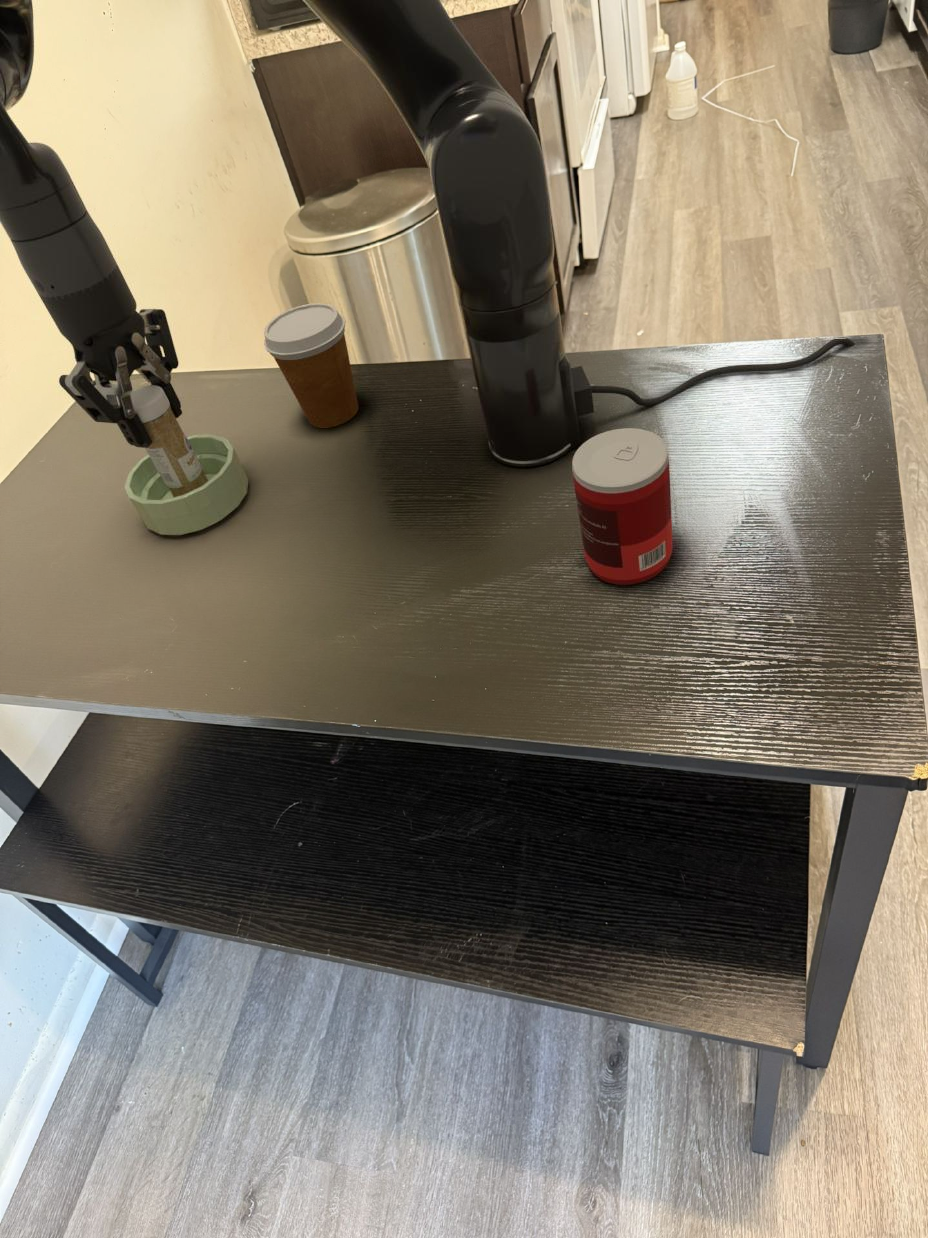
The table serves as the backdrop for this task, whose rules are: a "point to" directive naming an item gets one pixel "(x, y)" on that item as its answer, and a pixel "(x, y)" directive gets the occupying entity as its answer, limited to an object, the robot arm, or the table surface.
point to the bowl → (198, 504)
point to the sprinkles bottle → (167, 441)
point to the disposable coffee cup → (314, 361)
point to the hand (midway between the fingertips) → (159, 429)
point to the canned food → (624, 504)
